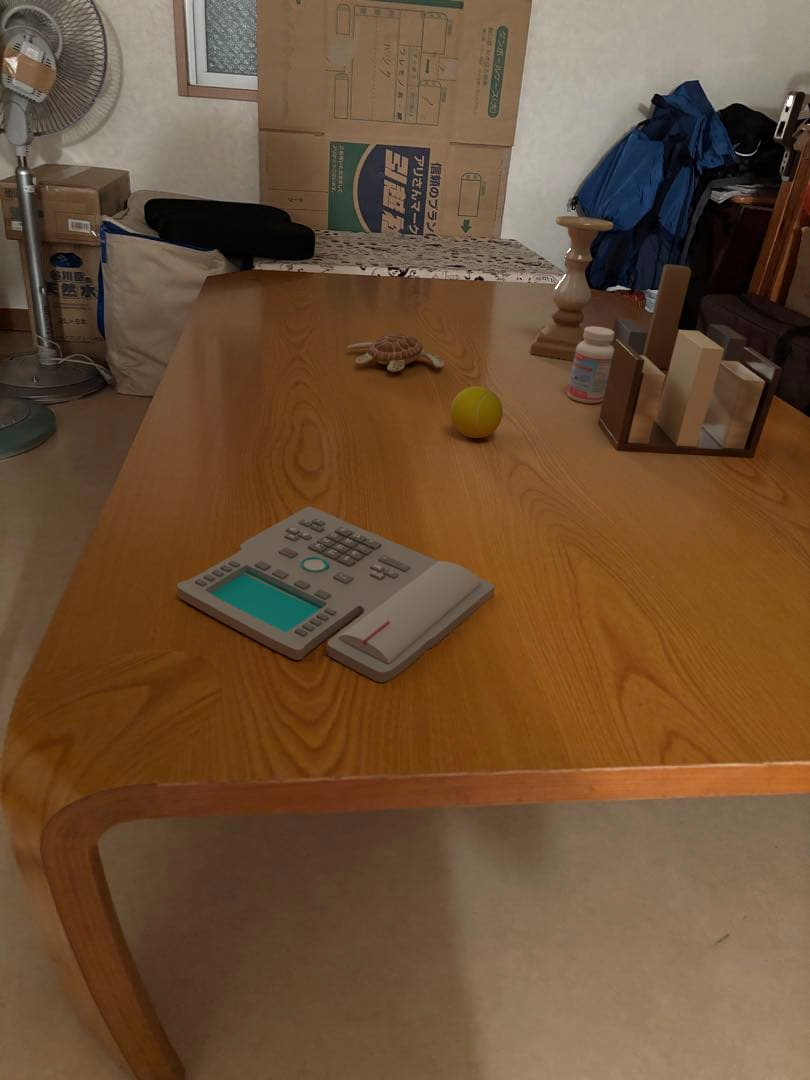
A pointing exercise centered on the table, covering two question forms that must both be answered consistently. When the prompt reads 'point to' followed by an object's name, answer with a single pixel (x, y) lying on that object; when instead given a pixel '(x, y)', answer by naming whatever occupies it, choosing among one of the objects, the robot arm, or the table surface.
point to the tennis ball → (476, 412)
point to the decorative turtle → (395, 351)
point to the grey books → (717, 333)
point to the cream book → (688, 387)
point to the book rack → (729, 413)
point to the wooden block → (667, 315)
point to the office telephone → (337, 594)
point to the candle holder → (570, 291)
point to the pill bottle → (591, 366)
